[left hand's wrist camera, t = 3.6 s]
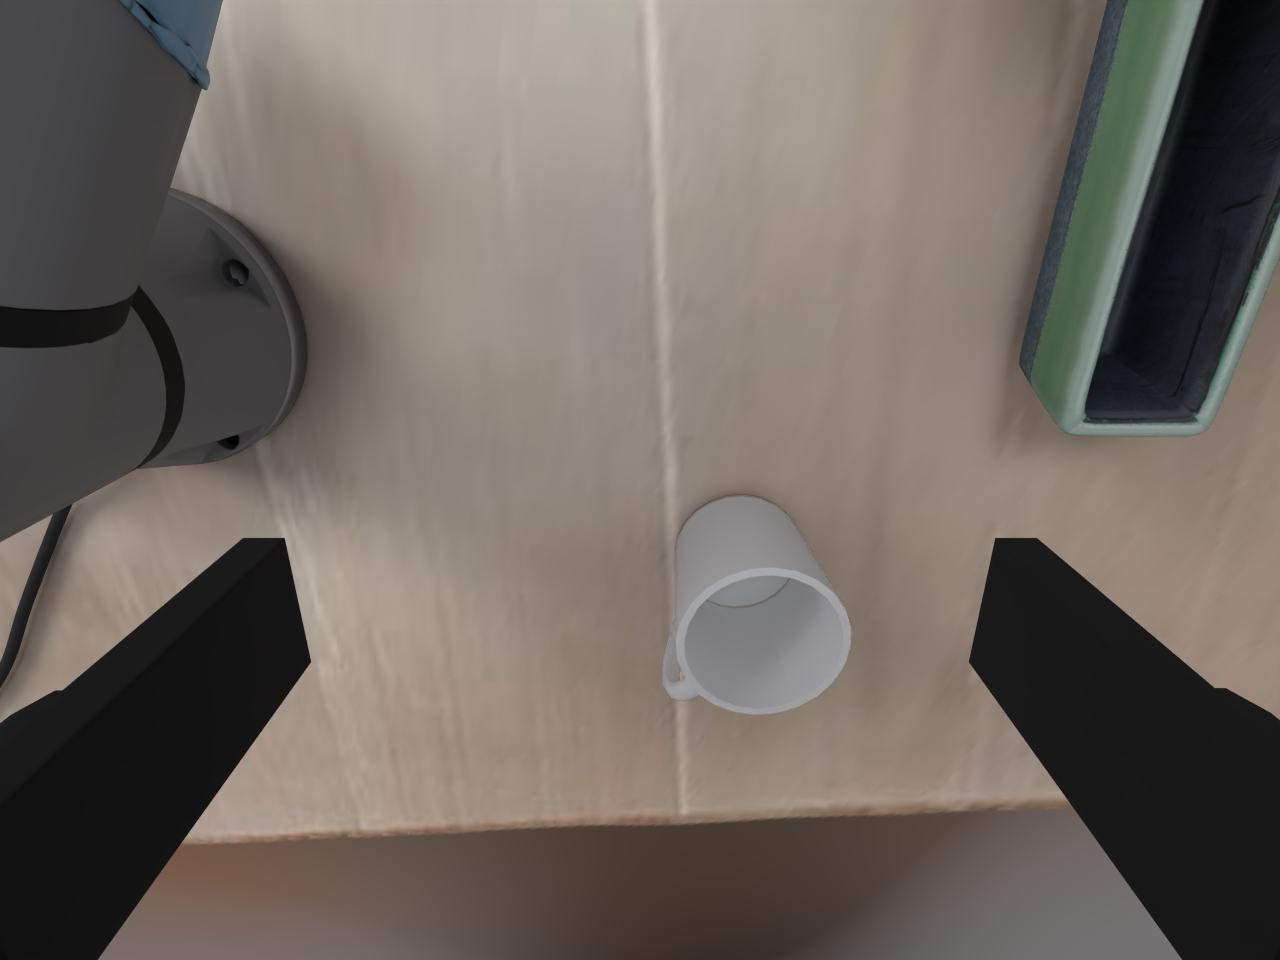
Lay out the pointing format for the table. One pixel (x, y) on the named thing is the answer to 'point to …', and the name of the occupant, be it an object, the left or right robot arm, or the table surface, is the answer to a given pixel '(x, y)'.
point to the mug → (751, 612)
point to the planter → (1161, 220)
